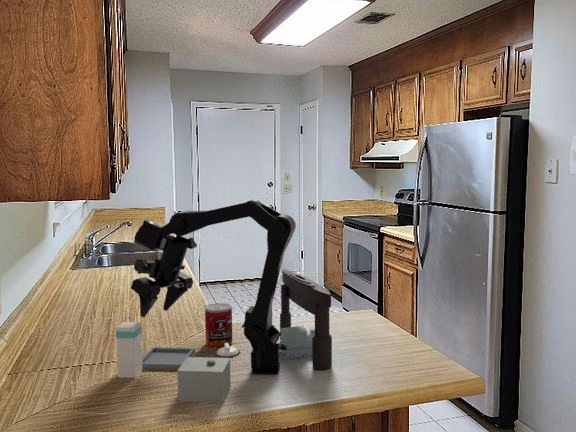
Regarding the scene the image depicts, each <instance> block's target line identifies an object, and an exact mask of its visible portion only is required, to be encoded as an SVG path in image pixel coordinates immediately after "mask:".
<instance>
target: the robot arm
mask: <svg viewBox="0 0 576 432" xmlns="http://www.w3.org/2000/svg"><path fill="white" fill-rule="evenodd" d="M244 218H251V219H252V220H254V221H255V222H256V223H257V224H258V225H259V227H260V226H261V228H263V229H264V230H266V231H267V234H266V243H267V253H266V257H265V262H264V266H263V269H262V270H263V271H262V274H261V278H260V281H259V282H260V283H259V287H258V291H257V296H256V300H255V303H254V305H250V307H249V308H248V309H247V310H246V311H245V313H244V322H243V324H242V326H241V328H243V335H244V337H245V338H246V340H247V341H248V342H249V343H250V345H251V348H252V350H251V352H250V368H251V369H252V370H251V373H252V374H253V375H255V374H256V375H257V374H260V375H262V374H263V375H265V374H266V375H277V374H279V372H280V368H281V362H280V358H279V352H280V350H279V345H280V343H279V341H280V340H279V339H280V334H281V333H280V330H279V329H278V328H276V327H275V326H274V325H273V301H274V296H275V292H276V289H277V284H278V280H279V276H280V272H281V268H282V263H283V259H284V255H285V252H286V250H287V248H288V246H289V243H290V242H291V240H292V238H293V236H294V233H295V231H296V228H297V227H296V221H295V220H294V218H293V217H292V216H291V215H289V214H281V213H280V212H278V211H276V210H275V209H274V208H271V207H269V206H267V205H265V204H264V203H262V202H261V201H260V200H258V199H251V200H248V201H246V202H241V203H237V204H232V205H229V206H224V207H223V206H222V207H219V208H215V209H210V210H187V211H183V212H181V211H180V212H177V213H174V214H172V215H171V217H170V220H169V222H168V223H166V224H165V225H163V226H162V225H160V224H157V223H155V222H153V221H152V220H149V219H145V220H143V223H142V224H141V225H140V227H139V228H138V230H137V232H135V235H134V237H133V239H134V241H133V242H134V244H136V245H137V246H140V247H142V248H145V249H148V250H149V251H152V252H155V253H156V252H158V251H160V250H162V251H161V252H162V253H161V255H160V257H157V258H155V260H153V259H151V260H150V259H146V258H136V261H135V262H134V265H133V268H134V269H133V270H134V271H135V272H137V273H136V274H138V275H141V274H145V275H148V277H149V278H148V277H146V276H144V277H139V278H136V279H133V280H132V282H131V286H130V289H131V290H132V291H134V293H135V294H137V295H138V297H139V298H138V299H139V309H140V310H139V311H140V317H141V318H146V316H147V315H148V313H150V311H151V309H152V308H153V306H154V305H155V303H156V302H157V300H159V297H158V296H159V294H160V293H161V289H165V288H166V293H165V294H166V295H165V298H164V302H163V307H162V309H163V311H165V312H167V311H168V310H170V308H171V307H172V306H173V305H174V304H175V303H176V302H177V301H178V300H179V299H180V298H181V297H182V296H183V295H184V294H185V293H187V292H188V291H189V290H190V289H192V287H193V284H194V280H193V277H192V276H190V275H187V274H186V273H184V272H182V271H181V270H185V268H186V265H185V264H184V261H185V258H186V255H187V251H188V250H189V249H190V250H193V249H195V248H197V247H198V244H197V242H196V241H195V238H194V237H193V236H191V237H189V238H187V237H184V236H186V235H189V234H193V233H195V232H196V231H199V230H201V229H204V228H206V227H208V226H212V225H218V224H221V223H226V222H230V221H235V220H240V219H244ZM172 234H173V235H172ZM174 235H175V236H174ZM152 279H153V280H152Z"/></svg>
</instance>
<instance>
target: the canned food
mask: <svg viewBox="0 0 576 432" xmlns="http://www.w3.org/2000/svg"><path fill="white" fill-rule="evenodd" d="M204 319H205V321H204V323H205V343H206V345H208V346H207V347H209V346H211V347H210V348H213V347H225V343H228V344H229V345H230V344H231V343H233V306H232V305H231V304H229V303H222V302H218V303H217V302H215V303H211V304H208V305H206V306H205V307H204ZM231 345H232V344H231ZM231 345H230V346H231Z"/></svg>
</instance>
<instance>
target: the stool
mask: <svg viewBox="0 0 576 432" xmlns="http://www.w3.org/2000/svg"><path fill="white" fill-rule="evenodd" d="M281 277H282V278H281V279H282V283H283V284H281V285H280V313H279V332H280V333H281V334H280V337H279V339H280V340H281V341H280V340H279V341H280V343H279V359H291V360H295V359H296V357H303V358H307V357H309V356H312V359H311V360H312V362H311V363H312V369H313V370H315V371H319V370H328V369H330V368H332V367H333V366H332V365H333V364H332V363H333V355H332V354H333V338H332V335H331V334H330V309H331V307H332V294H331V292H330V291H329V289H327V288H325V287H324V286H322V285H321V284H318V283H317V282H316V281H314V280H313V279H309V278H307V277H306V276H303V275H301V274H299V273H297V272H294V271H291V270H288V269H282V271H281ZM290 300H291V302H293V303H294V304H296V305H297V306H299V307H300V308H301V309H303V310H304V311H306V312H308V313H310V314H312V315H314V327H311V328H310V329H309V332H308V331H307V329H306V327H305V326H304V325H298V326H292V313H291V312H290Z"/></svg>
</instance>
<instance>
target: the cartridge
mask: <svg viewBox="0 0 576 432" xmlns="http://www.w3.org/2000/svg"><path fill="white" fill-rule="evenodd" d="M115 338H116V358H117V359H116V361H117V364H116V365H117V378H128V379H129V378H133V379H136V378H138V376H139V375H140V374H141V373H142V372H143V370H144V369H142V357H143V349H142V348H143V347H142V346H143V345H142V344H143V343H142V323H141V322H135V321H134V322H133V321H132V322H131V321H128V322H125V321H124V322H121V323H120V324H119V325H117V326H116V328H115Z"/></svg>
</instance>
